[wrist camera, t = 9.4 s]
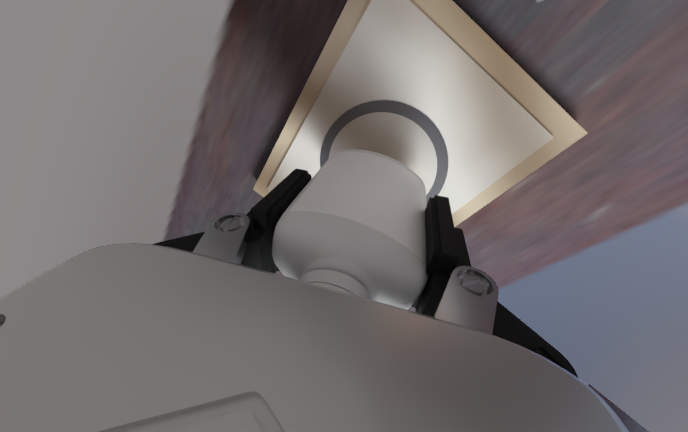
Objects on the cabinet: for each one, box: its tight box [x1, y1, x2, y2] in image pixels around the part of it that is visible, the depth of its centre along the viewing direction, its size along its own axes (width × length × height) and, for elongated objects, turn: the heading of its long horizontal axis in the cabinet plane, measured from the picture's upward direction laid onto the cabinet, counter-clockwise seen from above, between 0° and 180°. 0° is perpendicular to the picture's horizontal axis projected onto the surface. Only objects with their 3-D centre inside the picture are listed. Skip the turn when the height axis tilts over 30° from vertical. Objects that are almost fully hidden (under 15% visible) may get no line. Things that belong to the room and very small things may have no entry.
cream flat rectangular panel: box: [253, 0, 587, 227], centre depth 16 cm, size 16×13×1 cm
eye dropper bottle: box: [272, 149, 428, 310], centre depth 10 cm, size 4×6×12 cm
